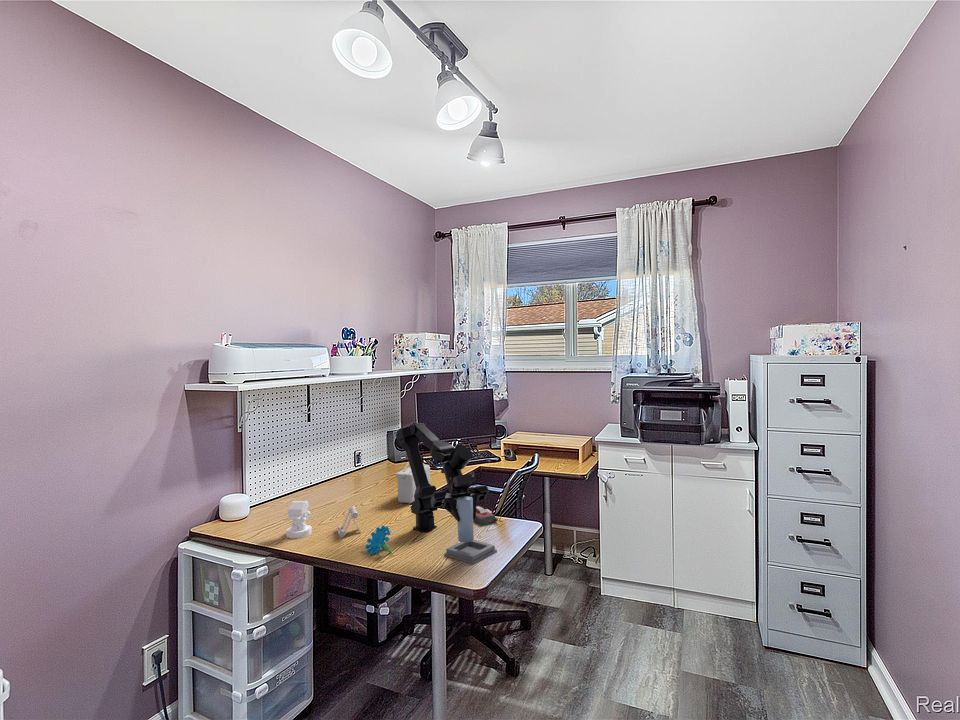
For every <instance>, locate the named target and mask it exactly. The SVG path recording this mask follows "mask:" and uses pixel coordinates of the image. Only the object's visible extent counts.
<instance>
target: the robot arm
mask: <svg viewBox="0 0 960 720" xmlns="http://www.w3.org/2000/svg"><path fill="white" fill-rule="evenodd" d="M395 433H396V434H395V437H396V440H397V442H398V445H399V447H400V448H401V449H402V450H404V452H405V453H406V457H407V462H409V464H408V465H409V467H410V468H411V471H412V475H413V478H414V482H415V485H416V490H415V494H414V499H415V501H413V502H412V503H411V505H410V511H411V513H412V514H414V515H415V526H413V527H412V529H413V530H416V531H420V532H423V533H426V532H429V531H432V530H433V529H436V528H438V526H437V525H435V516H434V512H435V511H438V508H442V509H445V510H446V511H447V512H448V513H449V514H450V515H451V516H452V517H453V518H454V519H455V520H456V521H457V523H458V522H459V521H460V518H459V514H458V512H457V507H456V506H457V505H456V504H455V500H457V498H459V497H464V496H468V497H472V498H473V519H475V518H476V506H477V504H478V502H482V501H485V500H486V498H487V497H488V495H489V493H490V489H489V486H487V485H485V484H483V485H475V487H474V489H473V490H470V491H468V490H469V489H470V485H472V483H475V482H476V480H477V478H476V474H475V472H474V471H468V472H467V474H466V473H464V474H463V472H462V470H463V469H465V468H466V466H467V465H468V464H469V462H470V461H471V459H472V458H473V452H472V450H471V448H469V447H467V446H465V445H463V443H457V444H456V445H455V447H454V446H453V445H452V444H450V443H449V442H447V441H444V440H441V439H439V437H437V436H436V435H435V434H434V433H433V432H432V431H431V430H430V429H429V428H428V427H427V426H426V424H425V423H424V422H415V423H412V424H410V425H408V426H405V427H400V428H398V429H397V431H396V432H395ZM420 442H421V443H423V444H424V445H425V447H426V448H428V450H429V451H430V457H431V458H432V459H433V461H434V462H435V463H436V464H443V466H442V468H441V471H440V473H441V474H444V476H445V480H446V488H447V489H448V491H449V492H446V491H445V490H438V491H437V487H436V486H435V485H431V483H430V484H429V482H428V479H427V475H426V472H425V469H424V465H425V464H424V463H423V459H422V456H421V453H420V448H419V444H420Z"/></svg>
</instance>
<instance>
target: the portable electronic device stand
mask: <svg viewBox="0 0 960 720" xmlns="http://www.w3.org/2000/svg"><path fill="white" fill-rule="evenodd" d="M358 516H359V513H358V512H357V509H356V507H355V506H353V505H352V506H350V507H349V509H348V511H347V514H346V515H345V518H344V521H343V524H342V525H341V526H340V525H339V524H337V527H336V528H337V533H338V537H339V538H341V539H342V538H344V537H345V536H346V533H347V531H348V528H349V526H350V523H351V520H352V519H353V521H354V523H355V526H356V528H357V530H358V531H359V534H361V532H362V531H361V529H360V527H359V525H358V524H357V521H356V519H357V518H359V517H358ZM346 522H347V523H346ZM345 525H346V526H345ZM344 527H345V528H344Z"/></svg>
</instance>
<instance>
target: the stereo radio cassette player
mask: <svg viewBox="0 0 960 720" xmlns="http://www.w3.org/2000/svg"><path fill="white" fill-rule="evenodd" d="M408 465H410V464H409V461H407V464H406V465H405V466H404V468H403V469H402V470H400V471H399V472H396V473H395V478H396V479H397V502H398V503H400V504H411V505H412V504H413V502H414V501H415V499H414V494H415V490H416V485H415V482H414V478H413V475H412V471H411V468H410V466H408ZM423 465H424V469H425V472H426V475H427V479H428V482H429V484H430V485H431V467H430V465H429V464H423Z"/></svg>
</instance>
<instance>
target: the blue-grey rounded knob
mask: <svg viewBox="0 0 960 720" xmlns="http://www.w3.org/2000/svg"><path fill="white" fill-rule="evenodd" d="M456 504H457V505H456V506H457V507H456V509H457V512H458V514H459V518H460V521H459V522H458V521H457V540H458V542H459V543H460V542H471V541H473V540H475V534H474V533H475V532H474V520H473V498H472V497H468V496H464V497H459V498H457V499H456Z"/></svg>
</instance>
